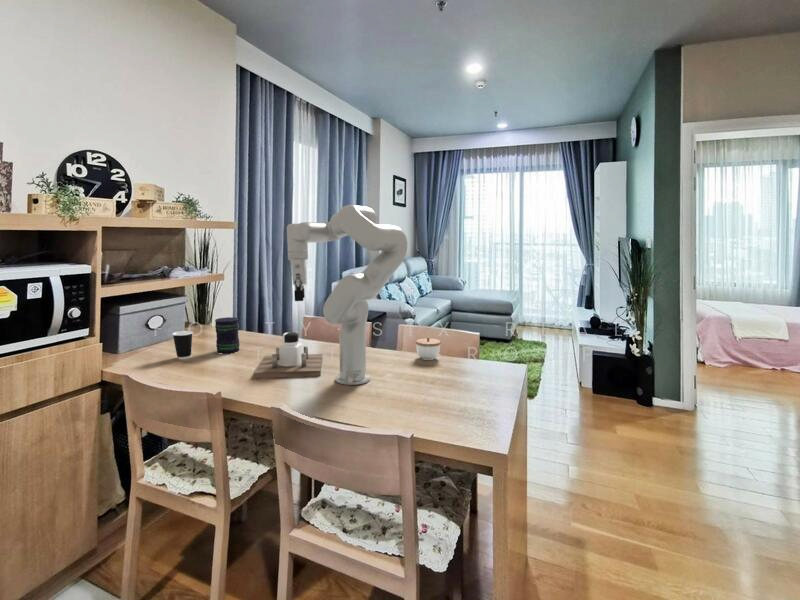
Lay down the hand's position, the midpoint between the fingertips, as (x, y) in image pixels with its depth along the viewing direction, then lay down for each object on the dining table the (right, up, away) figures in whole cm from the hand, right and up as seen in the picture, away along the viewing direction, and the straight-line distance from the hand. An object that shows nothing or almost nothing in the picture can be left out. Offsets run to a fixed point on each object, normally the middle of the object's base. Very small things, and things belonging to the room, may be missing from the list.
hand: (299, 299), depth 166 cm
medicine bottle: (-4, -25, +2) cm, 26 cm away
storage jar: (-39, -24, +27) cm, 53 cm away
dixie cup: (-54, -25, +16) cm, 61 cm away
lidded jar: (+52, -26, +18) cm, 61 cm away
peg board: (-4, -27, +3) cm, 28 cm away
